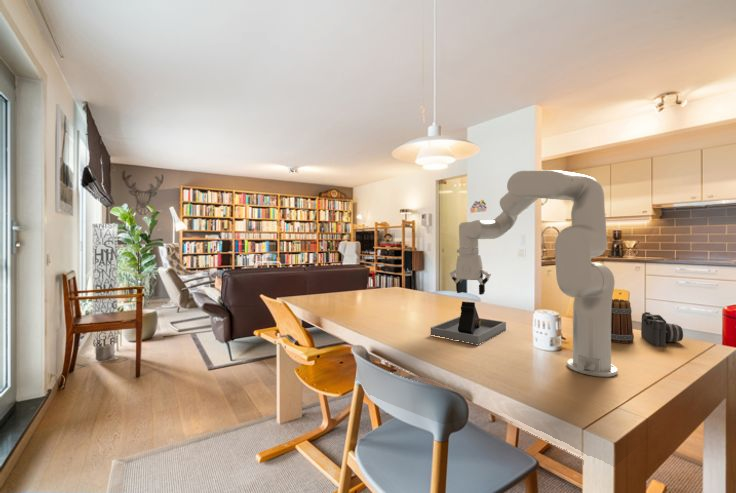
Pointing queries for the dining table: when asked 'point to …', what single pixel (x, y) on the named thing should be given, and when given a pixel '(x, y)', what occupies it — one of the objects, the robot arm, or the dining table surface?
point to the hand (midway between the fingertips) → (470, 293)
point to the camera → (659, 330)
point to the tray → (480, 334)
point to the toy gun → (468, 318)
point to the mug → (621, 322)
